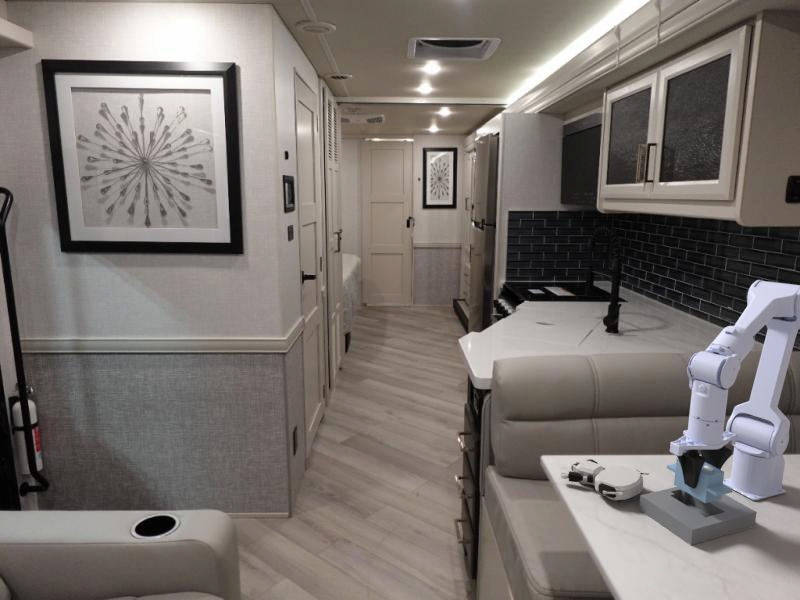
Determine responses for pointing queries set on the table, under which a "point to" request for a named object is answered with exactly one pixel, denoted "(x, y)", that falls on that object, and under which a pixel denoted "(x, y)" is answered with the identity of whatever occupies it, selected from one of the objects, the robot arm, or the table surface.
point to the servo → (702, 482)
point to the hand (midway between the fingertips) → (699, 483)
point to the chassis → (696, 514)
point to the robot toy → (607, 479)
